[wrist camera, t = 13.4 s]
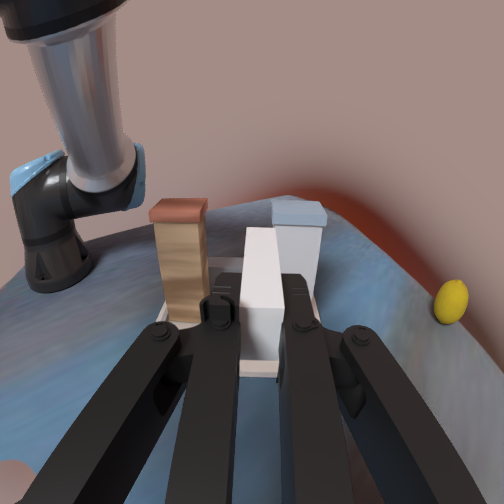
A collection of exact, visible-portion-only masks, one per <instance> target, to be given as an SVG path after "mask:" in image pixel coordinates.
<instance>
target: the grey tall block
mask: <svg viewBox="0 0 504 504" xmlns="http://www.w3.org/2000/svg"><path fill="white" fill-rule="evenodd" d="M271 216H272V224H273V228H275V230H276V238H277V246H278V254H279V263H280V271H281V273H292V274H301V275H302V276H303V277H304V278H305V279H306V281H307V285H308V290H309V295H310V298H311V302H312V297H313V290H314V284H315V278H316V271H317V264H318V258H319V250H320V243H321V235H322V227H323V226H326V223H327V214H326V212H325V210H324V209H323V207H322V205H321V204H320V202H315V201H296V200H272V199H271Z"/></svg>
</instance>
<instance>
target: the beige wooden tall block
mask: <svg viewBox="0 0 504 504" xmlns="http://www.w3.org/2000/svg"><path fill="white" fill-rule="evenodd" d="M207 208H208V203H207V198H169V199H161V200H160V201H159V202H158V203H157V204H156V205H155V206H154V207H153V208H152V209H151V210H150V211H149V219H150V222H153V223H154V231H155V238H156V245H157V252H158V259H159V265H160V272H161V278H162V283H163V289H164V295H165V300H166V305H167V310H168V315H169V320H170V321H179V322H191V323H201V316H200V308H199V303H200V302H201V300H202V299H203V298H205V297H206V296H208V295H210V287H209V274H208V259H207V243H206V224H205V212H206V210H207Z"/></svg>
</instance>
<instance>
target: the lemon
mask: <svg viewBox="0 0 504 504" xmlns="http://www.w3.org/2000/svg"><path fill="white" fill-rule="evenodd" d="M467 303H468V290H467V288H466V286H465V285H464V284H463V283H462V281H461V280H451V281H448V282H446V283H445V284H444V285H443V286H442V287H441V289H440V290H439V292H438V294H437V296H436V298H435V302H434V313H435V316H436V317H437V319H438V320H439V321H440V323H441V324H452V323H454V322H456V321H458V320H459V319H460V318H461V316H462V315H463V313H464V312H465V310H466V307H467Z"/></svg>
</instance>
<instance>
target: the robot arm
mask: <svg viewBox="0 0 504 504" xmlns="http://www.w3.org/2000/svg"><path fill="white" fill-rule="evenodd" d="M128 1H129V0H0V17H1V18H2V20H3V24H4V28H5V31H6V35H7V37H8V39H9V41H11V42H13V43H19V44H27V46H28V49H29V53H30V56H31V60H32V63H33V66H34V69H35V73H36V76H37V78H38V82H39V84H40V87H41V90H42V93H43V96H44V98H45V101H46V104H47V106H48V109H49V111H50V114H51V116H52V119H53V121H54V124H55V126H56V128H57V131H58V133H59V135H60V137H61V140H62V142H63V144H64V146H65V149H66V151H67V153H68V155H69V156H64V155H65V153H64V152H63V150H62V149H60V150H57V151H55V152H52V153H50V154H47V155H45V156H42V157H40V158H37V159H35V160H33V161H31V162H28V163H26V164H24V165H22V166H20V167H18V168H16V169H14V170H13V172H12V173H11V175H10V189H11V197H12V201H13V205H14V209H15V214H16V218H17V222H18V226H19V230H20V233H21V237H22V241H23V244H24V249H25V274H26V279H27V281H28V284H29V286H30V288H31V289H32V290H34V291H36V292H39V293H50V292H56V291H59V290H63V289H65V288H68V287H70V286H72V285H74V284H75V283H77V282H79V281H80V280H81V279H83V278H84V277H85V276H86V275H87V274H88V273H89V271H90V270H91V268H92V260H91V256H90V252H89V250H88V249H87V247H86V245H85V244H84V242H83V240H82V239H81V237H80V235H79V234H78V232H77V230H76V228H75V223H74V219H77V218H82V217H87V216H92V215H98V214H104V213H110V212H115V211H126V210H129V209H132V208H137V207H139V206H140V205H141V204H142V203H143V201H144V197H145V177H146V176H145V175H146V174H145V155H144V149H143V146H142V145H141V144H139V143H137V144H136V143H133V142H132V140H131V139H130V138H129V137H128V136H127V135H126V134H125V133H123V127H122V119H121V111H120V102H119V91H118V78H117V62H116V36H115V35H116V34H115V13H116V12H117V11H118V10H119V9H120V8H121V7H123V6H124V5H125V4H126V3H127V2H128ZM199 308H200V316H201V323H200V324H199V325H196V326H194V327H191V328H186V329H179V330H178V328H177V326H176V325H175V324H173V323H171V322H167V321H159V322H154V323H152V324H150V325H148V326H147V327H146V328H145V329H144V330H143V331H142V332H141V334H140V335H139V336H138V338H137V339H136V340H135V341H134V343H133V344H132V345H131V346H130V348H129V349H128V350H127V352H126V353H125V354H124V355H123V357H122V358H121V359H120V361H119V362H118V363H117V365H116V366H115V367H114V368H113V370H112V371H111V372H110V374H109V375H108V376H107V378H106V379H105V380H104V382H103V383H102V384H101V386H100V387H99V388H98V390H97V391H96V392H95V394H94V395H93V396H92V398H91V399H90V400H89V402H88V403H87V405H86V406H85V407H84V409H83V410H82V411H81V413H80V414H79V416H78V417H77V418H76V420H75V421H74V423H73V424H72V425H71V427H70V428H69V430H68V431H67V432H66V434H65V435H64V437H63V438H62V439H61V441H60V442H59V444H58V445H57V447H56V448H55V450H54V451H53V452H52V454H51V455H50V457H49V458H48V460H47V461H46V463H45V464H44V466H43V467H42V469H41V470H40V472H39V473H38V475H37V476H36V478H35V479H34V481H33V482H32V484H31V486H30V487H29V489H28V490H27V492H26V493H25V495H24V497H23V498H22V500H20V501H18V502H17V503H15V504H123V503H124V501H125V499H126V498H127V496H128V494H129V492H130V490H131V488H132V487H133V485H134V483H135V481H136V479H137V477H138V476H139V474H140V472H141V470H142V468H143V466H144V465H145V463H146V461H147V459H148V457H149V455H150V454H151V452H152V450H153V448H154V446H155V444H156V443H157V441H158V439H159V437H160V435H161V433H162V431H163V430H164V428H165V426H166V424H167V422H168V420H169V419H170V417H171V415H172V413H173V411H174V409H175V407H176V406H177V404H178V402H179V400H180V398H181V396H182V394H183V393H184V391H185V389H186V393H185V398H184V403H183V408H182V413H181V418H180V423H179V428H178V433H177V438H176V443H175V448H174V454H173V459H172V465H171V470H170V476H169V482H168V488H167V494H166V500H165V504H232V487H233V470H234V454H235V438H236V422H237V406H238V390H239V375H240V360H261V361H278V356H279V367H278V374H277V380H276V383H278V387H279V412H280V441H281V478H282V504H354V497H353V489H352V482H351V475H350V468H349V462H348V455H347V449H346V443H345V437H344V431H343V426H342V420H341V415H340V411H341V413H342V415H343V417H344V419H345V421H346V423H347V425H348V427H349V429H350V431H351V433H352V435H353V437H354V439H355V442H356V444H357V446H358V448H359V450H360V452H361V454H362V456H363V458H364V460H365V462H366V464H367V466H368V468H369V470H370V472H371V475H372V477H373V479H374V481H375V483H376V485H377V487H378V489H379V491H380V493H381V495H382V497H383V500H384V502H385V504H487V503H486V502H485V500H484V498H483V496H482V494H481V492H480V491H479V489H478V487H477V485H476V483H475V482H474V480H473V478H472V476H471V475H470V473H469V471H468V470H467V468H466V466H465V464H464V463H463V461H462V459H461V458H460V456H459V454H458V453H457V451H456V450H455V448H454V446H453V445H452V443H451V442H450V440H449V438H448V437H447V435H446V434H445V432H444V430H443V429H442V427H441V426H440V424H439V423H438V421H437V420H436V418H435V417H434V415H433V414H432V412H431V410H430V409H429V407H428V406H427V404H426V403H425V402H424V400H423V399H422V397H421V396H420V394H419V393H418V391H417V390H416V388H415V387H414V385H413V384H412V382H411V381H410V380H409V378H408V377H407V375H406V374H405V372H404V371H403V370H402V368H401V367H400V365H399V364H398V363H397V361H396V360H395V358H394V357H393V356H392V354H391V353H390V351H389V350H388V349H387V347H386V346H385V345H384V343H383V342H382V341H381V339H380V338H379V336H378V335H377V334H376V333H375V332H374V331H373V330H372V329H370V328H368V327H366V326H361V325H355V326H351V327H348V328H347V329H346V330H345V331H344V333H340V332H335V331H332V330H328V329H326V328H324V327H322V325H321V323H320V321H319V320H318V319H317V318H315V316H314V311H313V307H312V302H311V298H310V295H309V290H308V285H307V281H306V279H305V278H304V277H303V276H302V275H301V274H292V273H281V271H280V263H279V254H278V246H277V238H276V230H275V228H257V227H247V231H246V241H245V252H244V262H243V272H242V273H232V272H221V273H220V274H219V275H218V276H217V277H216V278H215V282H214V287H213V290H212V294H211V295H208V296H206V297H205V298H203V299H202V300H201V302H200V303H199ZM186 387H187V388H186ZM339 409H340V410H339Z"/></svg>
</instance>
